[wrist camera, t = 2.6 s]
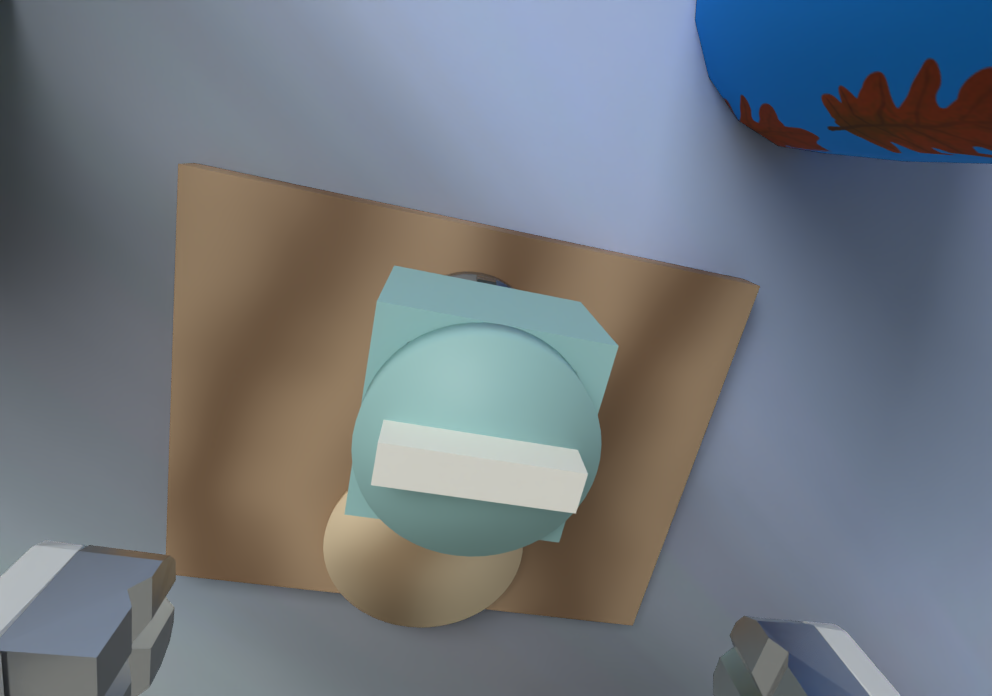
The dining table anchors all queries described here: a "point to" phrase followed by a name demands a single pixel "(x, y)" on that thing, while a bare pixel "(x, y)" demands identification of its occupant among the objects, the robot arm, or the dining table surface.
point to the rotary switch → (477, 414)
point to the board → (339, 388)
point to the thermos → (857, 74)
